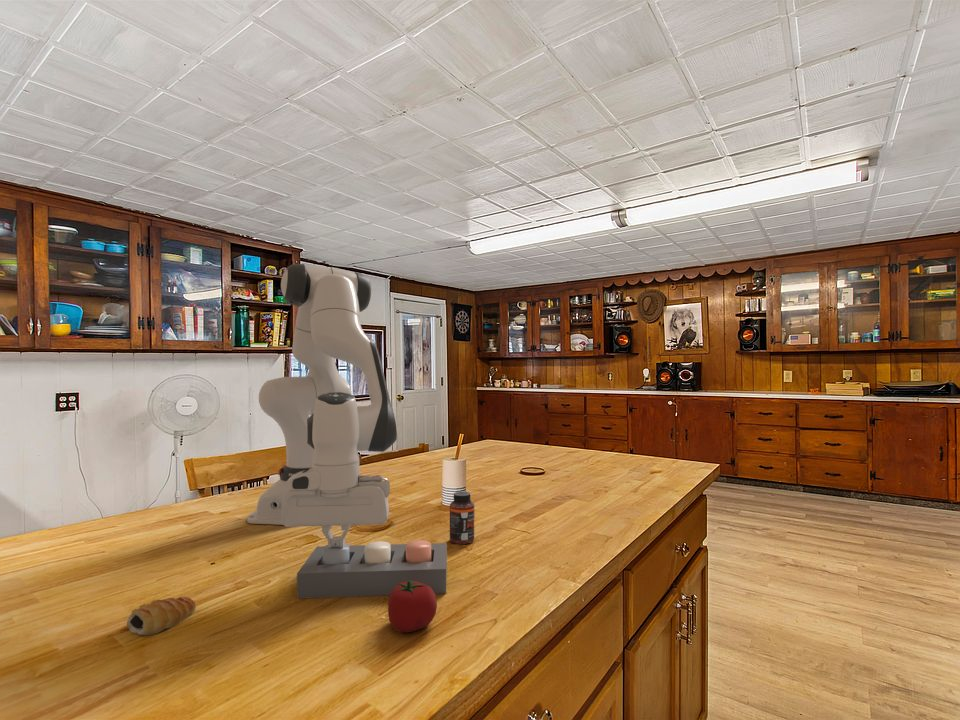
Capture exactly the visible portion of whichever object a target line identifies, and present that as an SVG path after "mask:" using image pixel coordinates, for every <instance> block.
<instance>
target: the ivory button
mask: <svg viewBox="0 0 960 720" xmlns="http://www.w3.org/2000/svg"><path fill="white" fill-rule="evenodd" d="M390 544H391V543H390V542H388V541H372V542H369V543H367V544H365V564H370V563H391V545H390Z"/></svg>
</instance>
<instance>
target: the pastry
mask: <svg viewBox="0 0 960 720" xmlns="http://www.w3.org/2000/svg"><path fill="white" fill-rule="evenodd" d="M195 611H196V603H195V601H194V600H193V599H192V598H191V597H188V596H180V597H178V598H176V597H168V598H164V599H156V600H152V601H151V602H150V603H146V604H142V605H140V606H139V608H136V609H133V610H132V611H131V613H130V615H129V616H128V618H127V621H126V626H127V628H128V629H129V631H130V632H131V633H134V634H139V635H141V636H152V635H153V636H154V635H156V634H158V633H161V632H162V631H163V630H165V629H170V628H173V627H175V626H176V625H178V624H179V623H181V622H183V621H184V620H186V619H188V618H189V617H190V616H191V615H192V614H193V613H194V612H195Z"/></svg>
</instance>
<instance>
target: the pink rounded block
mask: <svg viewBox="0 0 960 720" xmlns="http://www.w3.org/2000/svg"><path fill="white" fill-rule="evenodd" d="M405 544H406V562H431V542H430V541H427V540H424V539H423V540H421V539H420V540H419V539H417V540H412V541H410V542H407V543H405Z"/></svg>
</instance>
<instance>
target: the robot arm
mask: <svg viewBox="0 0 960 720" xmlns="http://www.w3.org/2000/svg"><path fill="white" fill-rule="evenodd" d="M280 290H281V293H282V297H283V300H284V301H285V302H286V303H287V304H290V305H292V306H295V307H298V309H297V313H296V317H295V323H294V332H293V341H292V349H291V352H292V355H293V357H294V358H295V360H296V361H298V362H299V363H300V364H301V365H304V366H306V367H308V374H307V375H306V376H282V377H278V378H273V379H268V380H266V381H265V382H264V383H263V385H262V386H261V388H260V390H259V392H258V404H259V407H260V409H261V410H262V411H263V412H264V413H265V414H266V415H267V416H268V417H270V418H271V419H273V420H274V421H275V422H276V423H277V425H278V426H279V427H280V430H282V433H283V437H284V442H285V451H286V452H285V453H286V463H285V464H283V465H282V466H281V468H279V470H278V471H277V472H278V473H277V476H279V479H278V480H277V481H276V482H274V484H272V485H271V486H270V487H269V488H267V489H266V490H265V491H263V492H262V493H261V494H260V496H259V498H258V500H257V504H256V509H255V510H254V511H252V512H251V513H249V515H248V516H247V519H246V521H247V523H248V524H255V525H258V524H259V525H261V524H262V525H280V526H281V525H282V526H284V527H286V528H287V527H288V528H292V527H293V528H294V527H295V528H296V527H297V528H299V527H321V533H322V534H323V535H324V536H325V539H326V540H327V545H328V548H344V546H345V543H346V536H347V534H348V533H349V531H350V529H351V528H352V527H351V526H368V525H373V526H374V525H377V526H378V525H385V524H386V522H387V521H388V519H389V518H390V505H389V500H388V499H389V498H388V497H390V493H391V485H390V481H389V480H388V479H387V478H386V477H383V475H380V474H378V475H377V474H375V475H360V455H359V453H358V452H363V451H364V452H365V451H367V452H377V453H380V452H381V453H383V452H385V451H387V450H389V448H390V447H392V446H393V445H394V444H395V443H396V441H397V439H398V434H399V433H398V432H399V428H398V421H397V418H396V415H395V412H394V409H393V406H392V403H391V399H390V394H389V389H388V386H387V382H386V377H385V373H384V368H383V366H382V365H383V364H382V360H381V356H380V352H379V349H378V347H377V345H376V343H375V340H374V339H372V338H371V337H368V336H367V334H366V333H365V331H364V330H363V328H362V325H361V312H364V310H366V309H367V308H368V307H369V304H370V301H371V299H372V293H373V292H372V284H371V281H370V279H369V277H368V276H367V275H365V274H363V273H360V272H357V271H355V272H352V271H349V270H346V269H342V268H338V267H333V266H330V267H329V266H328V267H327V266H322V265H321V266H320V265H306V264H304V263H294V264H290V265H289V266H287V267H286V269H285V271H284V272H283V275H282V276H281V280H280ZM336 360H339V361H342V362H345V363H348V364H351V365H352V366H355V367H356V368H357V369H359V370H361V372H362V373H363V374H364V376H365V381H366V386H367V390H368V394H369V400H370V404H369V405H363V406H361V405H357V401H356V397H355V396H354V395H352V388H351V386H350V384H349V382H348V381H347V380H346V379H345V378H344V377H343V376H342V375H341V374H340V372H339V370H338V368H337V365H336ZM333 526H336V527H337V526H340V531H341V532H342V534H341V535H340V536H334V535H333V533H332V531H331V529H332V527H333Z"/></svg>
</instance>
